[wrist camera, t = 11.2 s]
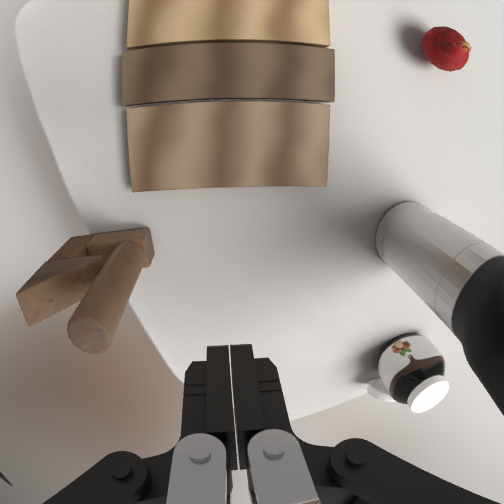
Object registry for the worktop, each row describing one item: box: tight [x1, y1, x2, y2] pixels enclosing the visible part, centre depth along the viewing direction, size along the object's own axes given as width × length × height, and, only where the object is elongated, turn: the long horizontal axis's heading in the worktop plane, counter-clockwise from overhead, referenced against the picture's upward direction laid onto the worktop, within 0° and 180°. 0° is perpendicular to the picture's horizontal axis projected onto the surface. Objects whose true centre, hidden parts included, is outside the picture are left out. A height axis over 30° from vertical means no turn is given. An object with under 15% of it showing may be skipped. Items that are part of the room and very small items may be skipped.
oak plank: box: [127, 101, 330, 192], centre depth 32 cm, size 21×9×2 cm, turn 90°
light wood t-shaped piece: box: [16, 228, 154, 354], centre depth 28 cm, size 4×11×18 cm, turn 94°
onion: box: [422, 27, 471, 71], centre depth 26 cm, size 6×6×8 cm
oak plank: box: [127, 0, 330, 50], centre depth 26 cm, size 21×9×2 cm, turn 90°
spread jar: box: [367, 334, 449, 413], centre depth 44 cm, size 12×11×12 cm
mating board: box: [122, 43, 335, 106], centre depth 29 cm, size 22×6×2 cm, turn 90°
